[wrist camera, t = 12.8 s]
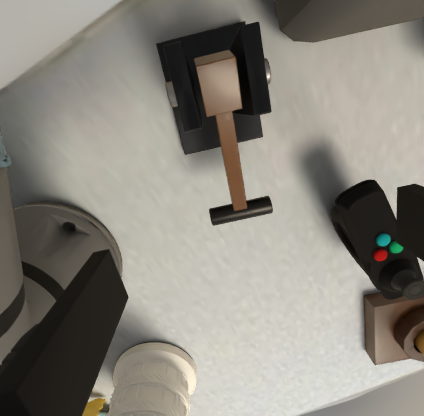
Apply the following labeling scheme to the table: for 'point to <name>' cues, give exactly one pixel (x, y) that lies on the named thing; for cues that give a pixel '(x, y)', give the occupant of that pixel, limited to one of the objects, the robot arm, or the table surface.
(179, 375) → the decorative container
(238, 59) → the switch bracket
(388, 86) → the table surface
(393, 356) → the switch block
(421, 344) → the power button
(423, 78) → the table surface
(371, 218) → the controller
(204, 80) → the lever
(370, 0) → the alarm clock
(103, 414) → the bow tie
